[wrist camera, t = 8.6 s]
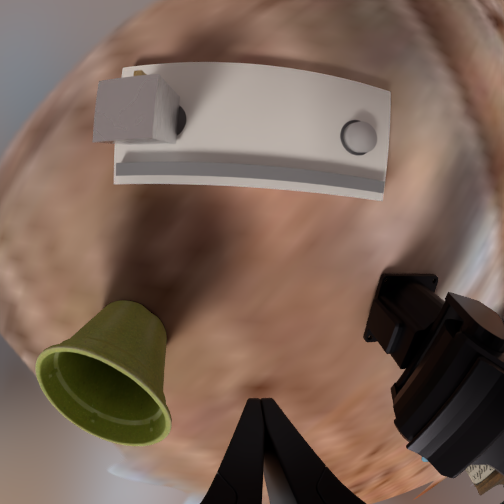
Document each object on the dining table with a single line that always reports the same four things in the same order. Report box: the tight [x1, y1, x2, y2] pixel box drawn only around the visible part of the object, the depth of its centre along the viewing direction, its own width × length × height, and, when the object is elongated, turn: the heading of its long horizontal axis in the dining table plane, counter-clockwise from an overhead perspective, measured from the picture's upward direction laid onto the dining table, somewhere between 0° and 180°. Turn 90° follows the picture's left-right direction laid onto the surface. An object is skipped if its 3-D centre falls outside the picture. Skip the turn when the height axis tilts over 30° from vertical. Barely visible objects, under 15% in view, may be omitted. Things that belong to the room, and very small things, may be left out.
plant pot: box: [36, 300, 171, 446], centre depth 17 cm, size 9×9×9 cm
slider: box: [93, 70, 180, 145], centre depth 12 cm, size 3×4×5 cm
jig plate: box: [114, 62, 391, 201], centre depth 15 cm, size 18×8×2 cm, turn 86°
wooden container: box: [465, 465, 504, 495], centre depth 28 cm, size 15×15×22 cm
